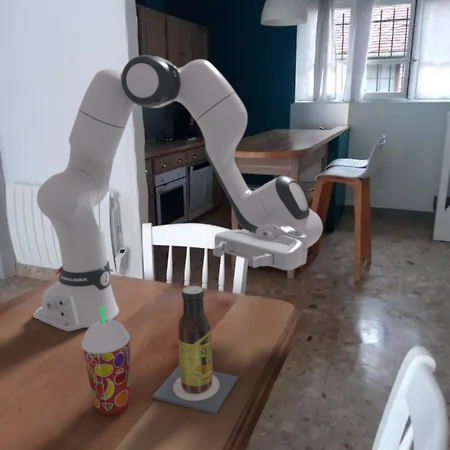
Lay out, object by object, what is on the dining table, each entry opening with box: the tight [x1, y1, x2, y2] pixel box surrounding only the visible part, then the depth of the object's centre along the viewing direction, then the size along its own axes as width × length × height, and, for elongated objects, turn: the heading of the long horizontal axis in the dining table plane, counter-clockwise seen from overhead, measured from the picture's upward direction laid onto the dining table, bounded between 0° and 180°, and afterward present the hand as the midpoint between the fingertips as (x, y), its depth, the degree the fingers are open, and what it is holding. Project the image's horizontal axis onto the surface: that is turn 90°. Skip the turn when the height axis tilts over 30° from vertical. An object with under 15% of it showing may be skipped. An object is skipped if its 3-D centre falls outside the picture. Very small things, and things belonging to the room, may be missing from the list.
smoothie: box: [80, 306, 132, 416], centre depth 80 cm, size 8×8×20 cm
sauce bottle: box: [177, 285, 213, 394], centre depth 84 cm, size 7×6×20 cm
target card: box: [152, 364, 239, 415], centre depth 86 cm, size 13×11×1 cm
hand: (232, 257), depth 89 cm, fingers open, 8 cm apart
